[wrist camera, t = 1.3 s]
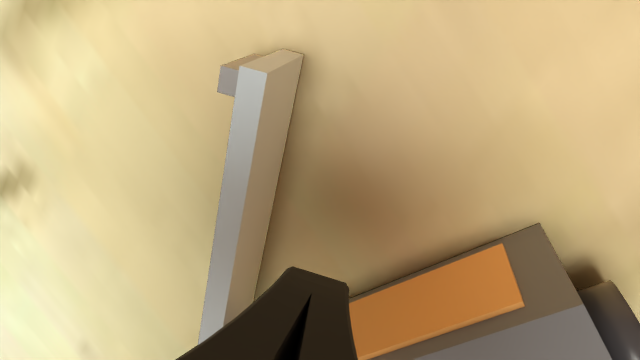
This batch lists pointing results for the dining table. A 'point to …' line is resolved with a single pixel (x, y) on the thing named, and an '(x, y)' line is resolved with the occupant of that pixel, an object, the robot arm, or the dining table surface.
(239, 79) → the grey long bar
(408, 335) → the camera body
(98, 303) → the dining table surface
